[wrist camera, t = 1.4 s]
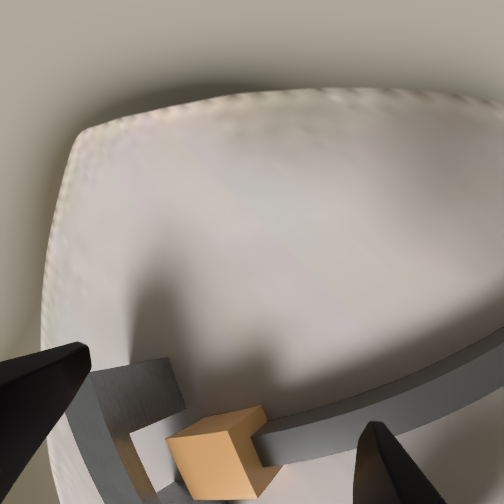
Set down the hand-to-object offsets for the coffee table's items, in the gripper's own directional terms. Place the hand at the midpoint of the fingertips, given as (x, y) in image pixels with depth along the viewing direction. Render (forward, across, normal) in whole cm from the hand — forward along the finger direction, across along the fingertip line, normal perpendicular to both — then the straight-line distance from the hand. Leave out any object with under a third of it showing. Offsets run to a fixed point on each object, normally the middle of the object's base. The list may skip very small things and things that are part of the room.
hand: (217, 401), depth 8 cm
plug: (+8, -7, +7) cm, 13 cm away
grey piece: (+9, +4, +17) cm, 19 cm away
